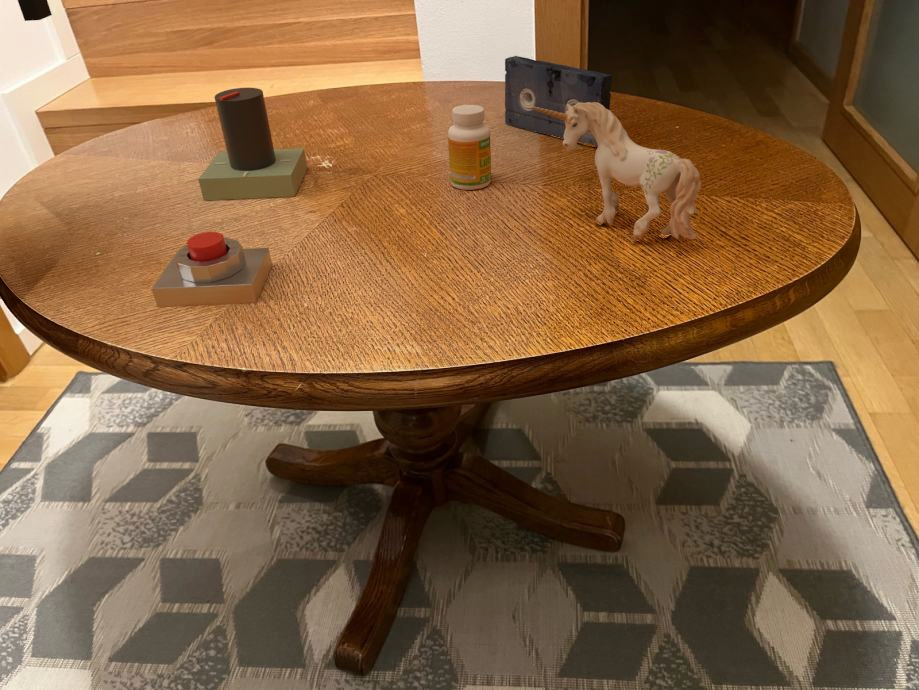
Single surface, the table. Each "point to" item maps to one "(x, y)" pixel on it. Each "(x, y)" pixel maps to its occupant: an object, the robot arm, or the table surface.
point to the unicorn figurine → (633, 169)
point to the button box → (214, 278)
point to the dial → (245, 128)
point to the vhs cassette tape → (550, 94)
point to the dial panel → (254, 177)
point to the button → (206, 246)
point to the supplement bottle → (469, 148)
